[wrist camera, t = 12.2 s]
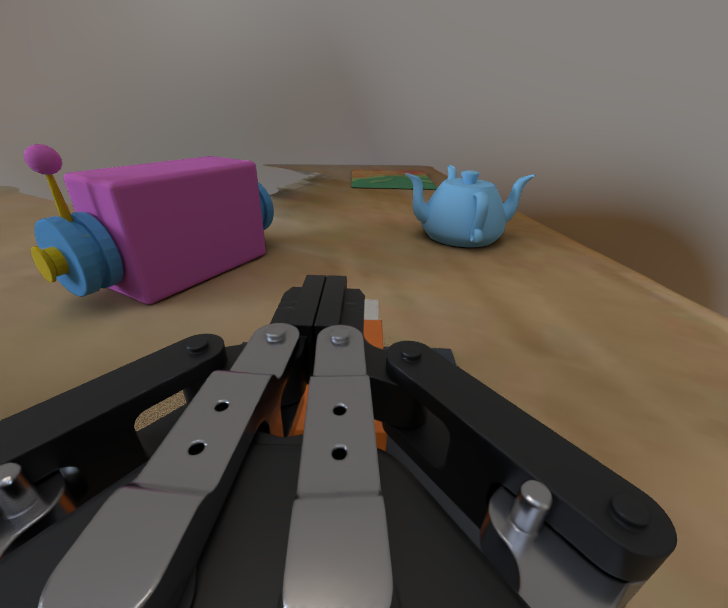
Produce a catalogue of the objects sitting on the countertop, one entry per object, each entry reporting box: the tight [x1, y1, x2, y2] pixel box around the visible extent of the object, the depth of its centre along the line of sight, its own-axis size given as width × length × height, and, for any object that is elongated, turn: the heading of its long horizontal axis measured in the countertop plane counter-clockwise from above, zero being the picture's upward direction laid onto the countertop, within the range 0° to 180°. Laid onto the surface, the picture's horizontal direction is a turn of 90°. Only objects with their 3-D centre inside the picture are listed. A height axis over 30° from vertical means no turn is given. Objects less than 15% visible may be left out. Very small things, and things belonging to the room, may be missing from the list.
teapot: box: [405, 165, 535, 247], centre depth 55 cm, size 15×15×10 cm
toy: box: [24, 144, 274, 304], centre depth 41 cm, size 28×9×15 cm, turn 151°
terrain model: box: [352, 170, 437, 189], centre depth 101 cm, size 25×22×1 cm
